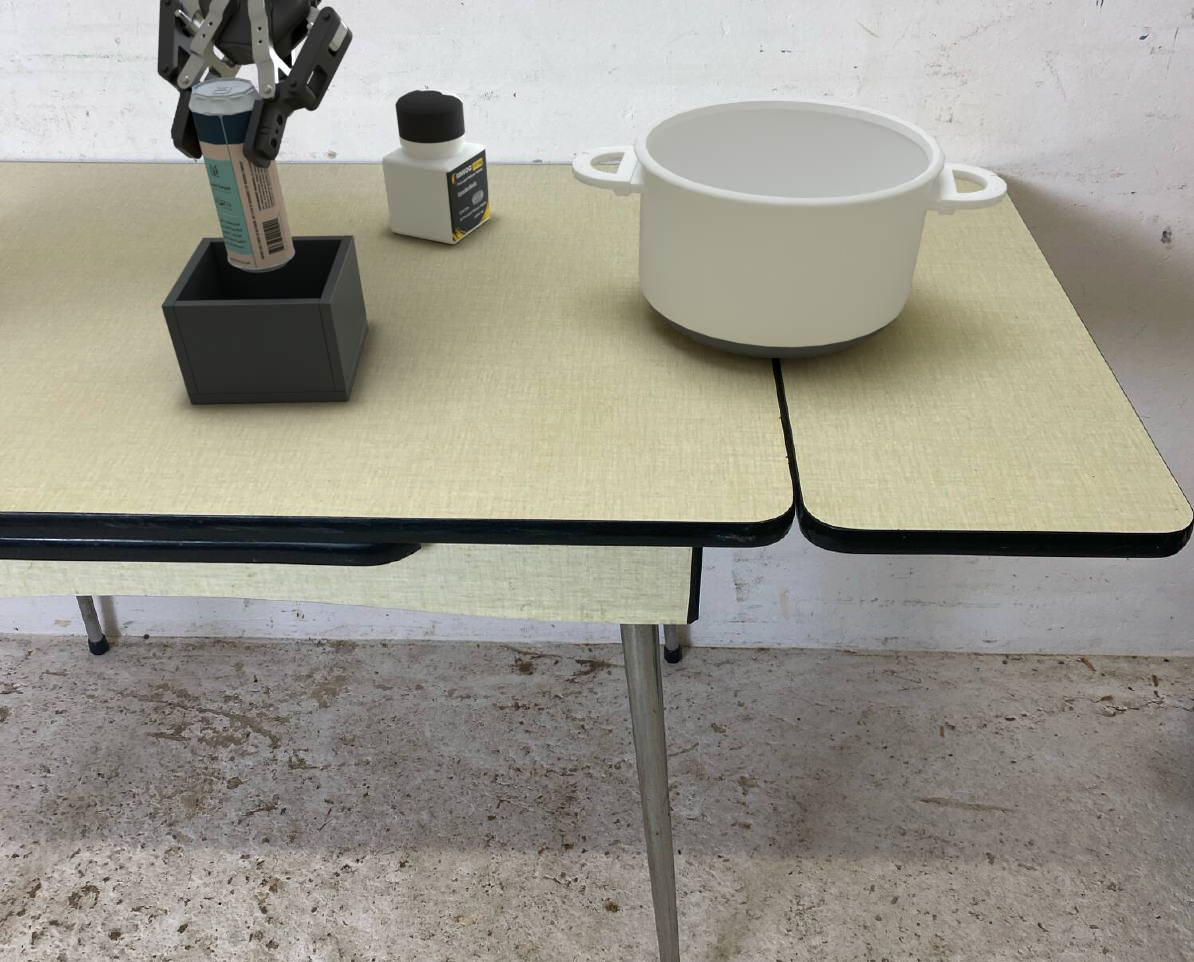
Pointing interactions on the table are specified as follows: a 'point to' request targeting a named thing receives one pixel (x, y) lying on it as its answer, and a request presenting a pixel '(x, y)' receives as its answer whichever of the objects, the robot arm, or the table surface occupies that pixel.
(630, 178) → the pot
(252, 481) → the table surface
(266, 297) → the bin
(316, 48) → the robot arm
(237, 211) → the beer can
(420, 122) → the medicine bottle
